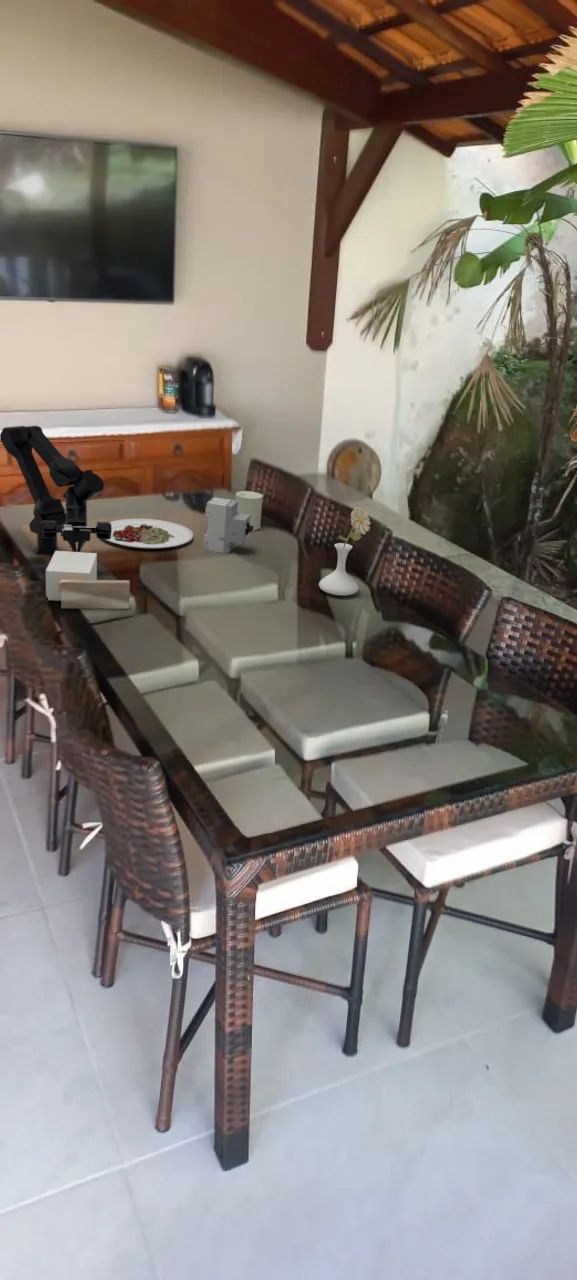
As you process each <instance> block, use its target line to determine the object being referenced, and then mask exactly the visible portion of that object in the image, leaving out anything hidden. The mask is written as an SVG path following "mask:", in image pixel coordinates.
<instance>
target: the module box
mask: <svg viewBox="0 0 577 1280" xmlns="http://www.w3.org/2000/svg"><path fill="white" fill-rule="evenodd" d="M97 560H98V553H97V552H82V551H81V552H73V551H65V550H59V551H55V553H54V554H52V557H51V559H50V561H49V563H48V566H47V567H46V569H45V597H46V596H47V598H48V600H47V601H59V602H61V592H59V581H61V580H98V579H97V578H98V577H97V576H98V570H97V569H98V567H97V565H98V563H97V562H98V561H97Z"/></svg>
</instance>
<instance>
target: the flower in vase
mask: <svg viewBox="0 0 577 1280" xmlns="http://www.w3.org/2000/svg"><path fill="white" fill-rule="evenodd" d="M368 513H369V512H368ZM368 513H367V512H366V510H365V509H364V508H363V507H362V506H360V507H359V506H356V507H354V508H353V510H352V511H351V513H350V521H351V523H350V524H351V526H352V528H351V529H350V530H351V531H350V532H349V534H348V536H347V538H346V537H343V535H340V534H339V536H338V539H339V540H341V541H345V542H343V543H342V542H338V543H335V544H334V548H335V549H336V552H337V562H336V563H337V565H336V568H335V570H334V571H333V572H331V573H330V574H328V575H325V576H324V577H323V578H322V579H320V581H319V582H318V586H319V588H320V590H322V591H323V592H325V593H327V594H330V595H334V596H351V595H355V594H356V593H357V592H358V591H359V586H358V583H357V582H356V581H355V580H354V579H353V578H352V577H351V576H350V575H349V574H348V573H347V571H346V561H347V557H348V554H349V553H350V551H351V550H352V548H353V545H351V544H349V543H348V541H349V539H350V538H351V539H352V540H353V541H355V542H356V541H359V540H360V539H361V538H362V535H366V532H369V531H370V529H371V528H370V525H371V521H370V519H371V518H369V514H368ZM353 530H354V531H353Z"/></svg>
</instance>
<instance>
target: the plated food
mask: <svg viewBox="0 0 577 1280" xmlns="http://www.w3.org/2000/svg"><path fill="white" fill-rule="evenodd" d="M109 522H110V524H111V528H112V531H111V539H104V540H105V541H108V542H110V543H113V544H116V545H121V546H123V547H129V548H134V549H150V550H151V549H152V550H153V549H165V548H171V547H173V548H174V547H178V546H182V545H184V544H187V543H189V542H191V541H192V539H193V538H194V533H193V531H192V530H191V529H190V528H188V527H187V526H185V525H183V524H179V523H176V522H171V521H168V520H164V519H163V520H162V519H154V518H123V519H122V518H121V519H118V520H117V519H116V520H112V521H109Z"/></svg>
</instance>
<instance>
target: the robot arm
mask: <svg viewBox="0 0 577 1280" xmlns="http://www.w3.org/2000/svg"><path fill="white" fill-rule="evenodd" d="M0 442H1V444H2V445H3V447H4V449H5V451H6V452H8V454H10V455H11V456H12V457H13V458H15V459H16V462H17V464H18V467H19V469H20V471H21V473H22V477H23V478H24V482H25V483H26V486H27V488H28V491H29V492H30V494H31V497H32V499H33V502H34V506H33V516H34V517H33V519H32V520H31V521H30V522H29V524H28V526H29V530H30V532H32V533H34V534H36V540H37V541H36V543H37V544H36V546H35V554H36V555H38V554H39V555H54V553H55V551H60V546H59V545H58V533H59V534H60V537H62V540H63V541H64V542H65V541H66V542H67V543H68V545H69V546H70V548H71V550H72V551H71V552H82V549H83V547H84V546H85V544H86V543H87V542H90V541H91V535H92V534H95V535H96V538H97V539H98V540H105V539H111V531H112V528H111V524H110V522H111V521H96V525H95V526H92V525H90V526H89V525H88V501H91V500H93V498H95V497H96V496H98V495H99V494H100V493H101V492H102V491H103V490H104V487H105V484H104V483H105V482H104V480H103V479H102V478H101V477H100V476H99V475H98V474H96V473H94V472H93V469H86V470H84V471H83V470H82V469H81V468H80V466H79V465H78V464H77V463H75V462H74V461H73V460H72V459H69V458H66V457H64V456H63V454H61V453H60V452H59V450H58V449H57V448H56V447H55V445H54V444H53V443H52V442H51V440H49V438H48V437H47V436H46V435H45V434H44V432H43V429H42V427H41V426H38V425H29V426H25V425H18V426H8V427H7V426H6V427H4V428H2V430H1V432H0ZM33 450H34V451H35V452H36V454H37V455H38V456H39V458H41V460H42V461H43V462H44V463H45V465H47V467H48V469H49V477H51V480H52V481H53V483H54V484H55V486H56V487H59V488H63V487H68V488H67V489H66V490H65V491H64V493H63V495H62V498H65V508H64V506H63V503H62V500H61V499H60V498H54V497H52V495H51V492H50V491H49V489H48V486H47V484H46V481H45V480H44V477H43V475H42V472H41V470H40V468H39V465H38V463H37V460H36V458H35V456H34V454H33Z"/></svg>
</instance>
